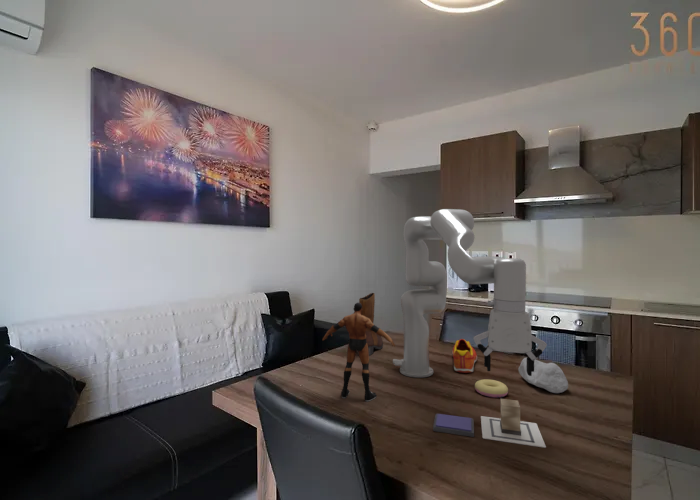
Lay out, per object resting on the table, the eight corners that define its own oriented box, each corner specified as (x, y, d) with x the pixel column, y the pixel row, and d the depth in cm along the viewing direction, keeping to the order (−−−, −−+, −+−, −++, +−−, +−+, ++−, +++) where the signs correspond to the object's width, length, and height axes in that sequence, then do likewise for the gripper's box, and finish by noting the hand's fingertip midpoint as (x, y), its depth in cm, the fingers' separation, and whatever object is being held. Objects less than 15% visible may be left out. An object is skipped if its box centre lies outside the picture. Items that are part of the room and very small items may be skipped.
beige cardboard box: (501, 432, 90) (501, 405, 90) (500, 424, 94) (499, 398, 94) (521, 435, 88) (520, 407, 88) (518, 427, 92) (518, 400, 92)
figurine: (397, 397, 112) (396, 303, 112) (392, 405, 106) (392, 306, 106) (326, 388, 120) (326, 300, 120) (319, 395, 114) (318, 302, 114)
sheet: (482, 438, 87) (482, 437, 87) (480, 416, 99) (480, 415, 99) (546, 447, 83) (546, 446, 83) (536, 423, 94) (536, 422, 94)
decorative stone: (578, 385, 114) (561, 360, 114) (558, 405, 112) (540, 380, 112) (540, 371, 131) (525, 350, 131) (521, 389, 129) (506, 367, 129)
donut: (480, 392, 122) (472, 397, 114) (479, 377, 123) (470, 382, 115) (511, 394, 116) (504, 399, 108) (509, 379, 117) (502, 383, 110)
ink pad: (433, 430, 91) (433, 425, 91) (435, 417, 99) (435, 412, 99) (474, 437, 88) (474, 431, 88) (473, 422, 96) (473, 417, 96)
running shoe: (475, 354, 158) (474, 330, 158) (482, 376, 131) (482, 346, 131) (451, 353, 161) (450, 329, 161) (453, 374, 133) (453, 345, 133)
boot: (372, 342, 180) (371, 289, 180) (388, 344, 176) (388, 290, 176) (348, 355, 158) (347, 295, 158) (366, 358, 153) (366, 296, 154)
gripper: (474, 306, 90) (473, 372, 91) (550, 310, 85) (549, 381, 85) (473, 302, 97) (472, 363, 98) (543, 305, 92) (542, 370, 92)
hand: (508, 371), depth 91 cm, fingers open, 9 cm apart
